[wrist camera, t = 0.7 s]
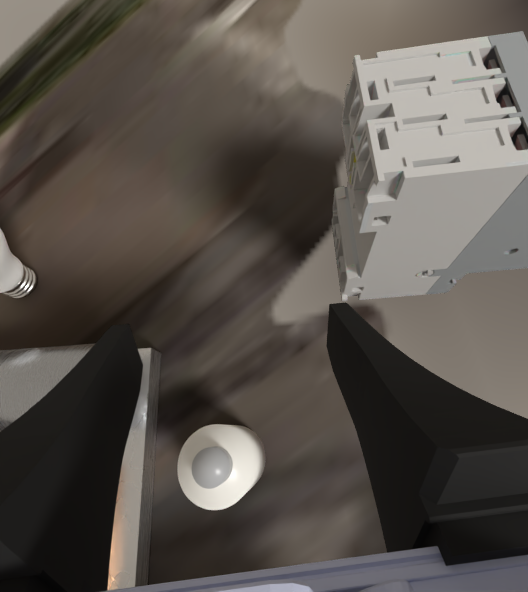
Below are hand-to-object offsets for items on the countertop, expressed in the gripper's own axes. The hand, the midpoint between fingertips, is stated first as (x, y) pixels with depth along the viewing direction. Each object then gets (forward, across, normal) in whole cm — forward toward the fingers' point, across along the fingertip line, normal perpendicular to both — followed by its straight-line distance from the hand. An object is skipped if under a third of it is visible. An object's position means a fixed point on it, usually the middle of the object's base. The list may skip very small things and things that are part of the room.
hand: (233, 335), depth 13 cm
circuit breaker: (+15, -16, +6) cm, 23 cm away
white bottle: (+4, +1, +16) cm, 16 cm away
